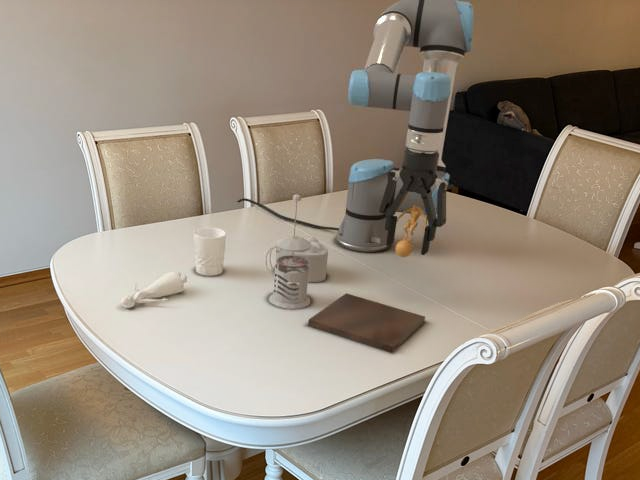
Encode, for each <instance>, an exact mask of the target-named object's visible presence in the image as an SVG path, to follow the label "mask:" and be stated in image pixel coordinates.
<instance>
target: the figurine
mask: <svg viewBox="0 0 640 480" xmlns="http://www.w3.org/2000/svg"><path fill="white" fill-rule="evenodd" d="M406 212H411V214H410V218H409V219H408V220H407V222H406V224H405V226H404V227H403V232H404V234H405V235H404V237H403V238H402V239H401V240H399V241H398V242H397V243H396V244H395V247H394V248H395V253H396V254H397V256H399V257H401V258H406V257H407V258H408V257H409V256H411V255H412V253H413V250H414V246H413V244H412V242H411V241H412V238H413V236H414V234H415V233H414V231H415V230H416V228H417V227H418V226H419V222H418V219H419V218H420V215H421V217H422V218H424V227H423V228H422V229H423V230H422V231H423V232H425V227H426V226H428V219H427V215H425V214H424V213H423V211H422V209H421V207H417V206H416V205H414V206H413V208H411V209H408V210H405V211H404V213H401V214H399V216H398V217H397V222H398V221H399V220H400V219H401V218H402V217H403V216H404V215H405V214H407V213H406ZM408 229H409V230H408ZM409 234H410V236H409ZM408 236H409V238H408V239H407V237H408Z"/></svg>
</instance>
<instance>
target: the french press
mask: <svg viewBox="0 0 640 480" xmlns="http://www.w3.org/2000/svg"><path fill="white" fill-rule="evenodd" d="M292 201H294V202H296V203H295V214H294V219H295V222H294V229H293V235H287V236H284V237H281V238H279V239H277V241H275V246H272V247H270V248H269V249H268V250H267V252H266V255H265V266H266V270H267V272H269V274H270V276H272V277H273V278H274V280H273V293H272V294H271V295H270V296H268V301H269V302H270V303H271V304H272V305H273V306H276V307H278V308H282V309H286V310H287V309H289V310H290V309H291V310H296V309H303V308H305V307H308V306H309V305H310V304H311V298H310V297H309V296H308V295H307V294H308V283H309V282H308V271H309V267H308V266H307V264H308V261H307V260H306V259H305V258H303V257H298V256H292V255H289V256H288V255H287V256H281V257H279V258H278V259H277V263H278V264H279V270H277V264H276V265H275V264H274V267H273V265H272V260H271V258H272V252H273V250H274V249H275V253H276V252H279V251H281V249H283V250H286V251H291V252H293V255H294V252H304V251H307V250H309V249H310V248H311V247H312V245H311V243H309V242H308V241H307V240H305V239H306V238H305V239H304V237H301V236H299V235H296V225H297V222H296V220H297V210H298V202H300V201H302V196H301V195H300V194H293V196H292ZM298 236H299V237H298ZM276 246H278V247H279V248H280V250H279V251H277V247H276ZM268 254H269V264H270V268H271V269H272V271H273V272H274V273H272V272H271V270H269V267H268ZM287 268H292V269H288V270H287ZM297 268H302V269H303V271H304V273H303V272H302V271H301V270H299V269H297ZM290 271H297V272H300V273H299V274H296V273H293V274H289V273H288V272H290ZM298 283H299V284H298Z"/></svg>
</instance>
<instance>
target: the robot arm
mask: <svg viewBox="0 0 640 480" xmlns="http://www.w3.org/2000/svg"><path fill="white" fill-rule="evenodd" d="M474 13H475V12H474V7H473V4H471V3H470V2H469V1H461V0H399V1H397V2H395V3H393V4H391V5H390V6H389V7H387V8H385V10H384V11H383V12H382V13H381V14H380V15H379V16H378V18H377V19H376V22H375V24H374V27H373V42H372V45H371V48H370V51H369V54H368V57H367V59H366V63H365V65H364V69H355V70H353V71H352V72H351V74H350V78H349V84H348V97H347V98H348V102H349V104H351V105H353V106H358V107H363V108H375V109H385V110H395V111H403V112H410V113H409V120H408V126H407V132H406V139H405V147H406V148H405V149H404V153H403V160H402V165H401V167H395V164H394V163H395V162H394V161H392V160H390V159H389V160H388V159H385V158H372V159H364V160H360V161H357V162H355V163H353V164H352V165H351V167H350V171H349V177H348V179H347V182H348V184H347V185H348V186H347V197H346V205H345V213H344V217H343V219H342V221H341V224H340V226H339V227H334V226H325V225H324V226H323V225H318V224H313V223H310V222H307V221H303V220H299V219H296V224H297V223H298V224H301V225H304V226H308V227H311V228H315V229H321V230H329V231H337V232H336V237H335V238H336V239H335V242H336V243H337V244H338V245H339V246H341V247H342V248H345V249H347V250H349V251H355V252H361V253H363V252H364V253H378V252H382V251H386V250H388V248H389V247H391V246H392V245H393V244H394V243H395V236H396V231H397V223H398V221H397V220H398V216H397V215H396V213H401V214H403V213H404V211H405V210H408V209H411V208H413V206H414V205H416V206H417V207H421V209H422V211H423V213H424V214H425V215H426V216H427V225H426V227H425V226H424V227H425V232H424V231H423V232H424V233H423V239H422V244H421V252H420V255H422V256H425V255H426V254H428V253H429V250H430V243H431V242H433V241H434V240H435V239H436V233H437V228H442V227H443V226H445V224H447V191H448V187H449V185H450V182H449V180H450V177H451V176H450V174H449V173H448V172H446V167H447V166H446V164H445V163H444V162H443V160H442V157H443V152H444V151H443V150H444V147H445V145H444V144H445V140H446V139H445V138H446V134H447V133H446V132H447V128H448V123H449V122H448V121H449V115H450V110H451V103H452V97H453V91H454V86H455V85H454V84H455V79H456V73H457V67H458V65H459V64H460V63H462V61H464V60H465V54H467V53H470V52H471V51H472V47H473V35H474ZM406 47H413V48H419V54H418V55H419V57H420V58H421V60H422V61H423V66H422V71H421V72H418V73H417V74H415V75H414V74H404V73H403V74H402V73H398V70H399V67H400V63H401V59H402V55H403V51H404V49H405V48H406ZM236 202H237V203H242V202H248V203H251V204H253V205H256V206H258V207H261V208H263V209H264V210H266V211H268V212H269V213H271V214H273V215H274V216H277V217H279V218H281V219H283V220H285V221H289V222H293V223H295V218H292V217H287V216H285V215H283V214H280V213H278V212H276V211H275V210H273V209H271V208H269V207H267V206H266V205H264V204H262V203H259V202H257V201H255V200H252V199H249V198H247V197H246V198H245V197H244V198H243V197H242V198H240V199H238V200H237V201H236ZM405 214H410V215H411V212H406V213H405ZM420 216H421V217H422V215H420ZM420 216H419V217H420Z"/></svg>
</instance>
